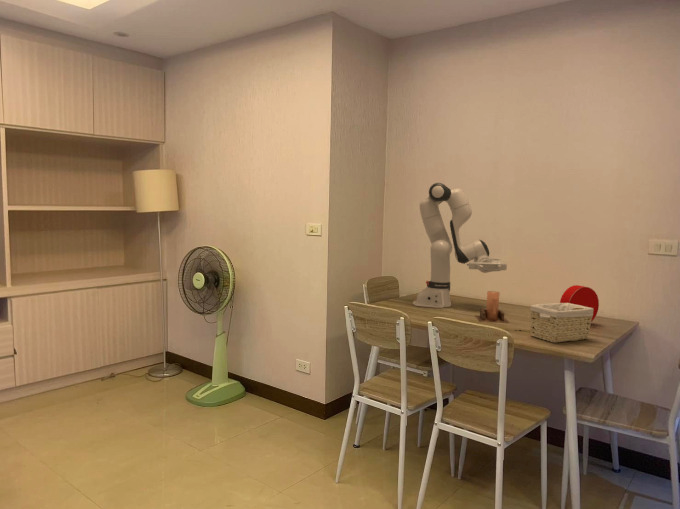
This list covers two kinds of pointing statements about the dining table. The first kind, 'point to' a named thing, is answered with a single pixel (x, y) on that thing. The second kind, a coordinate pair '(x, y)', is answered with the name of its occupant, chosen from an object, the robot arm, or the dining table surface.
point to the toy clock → (581, 298)
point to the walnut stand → (483, 319)
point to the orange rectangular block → (492, 305)
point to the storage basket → (560, 321)
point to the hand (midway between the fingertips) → (489, 267)
